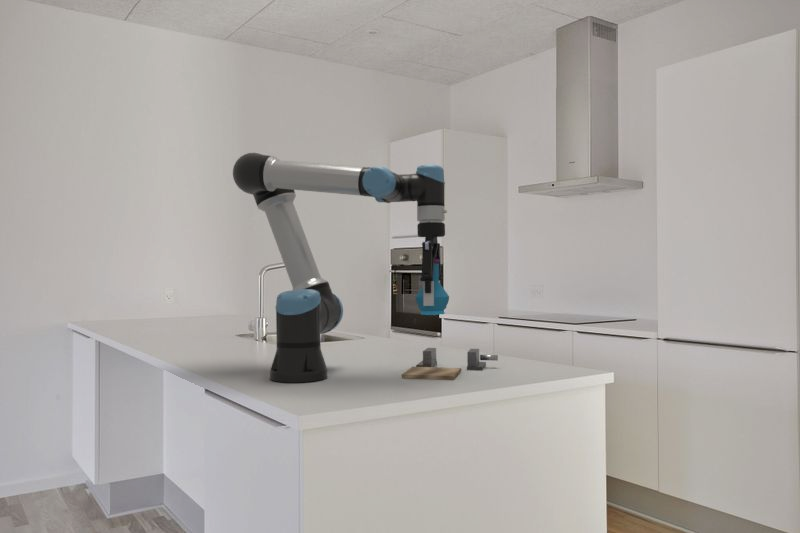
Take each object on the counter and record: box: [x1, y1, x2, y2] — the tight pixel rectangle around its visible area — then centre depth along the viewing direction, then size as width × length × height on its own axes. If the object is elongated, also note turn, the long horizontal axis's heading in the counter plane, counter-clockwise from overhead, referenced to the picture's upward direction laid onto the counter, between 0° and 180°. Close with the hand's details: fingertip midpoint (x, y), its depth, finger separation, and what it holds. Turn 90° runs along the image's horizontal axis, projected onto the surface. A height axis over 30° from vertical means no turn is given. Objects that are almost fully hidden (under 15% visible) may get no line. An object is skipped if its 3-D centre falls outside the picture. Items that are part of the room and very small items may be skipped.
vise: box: [415, 347, 499, 371], centre depth 196 cm, size 23×10×5 cm, turn 77°
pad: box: [401, 366, 462, 381], centre depth 183 cm, size 14×14×1 cm
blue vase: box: [415, 259, 450, 316], centre depth 183 cm, size 9×9×15 cm
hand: (432, 304), depth 183 cm, fingers closed on blue vase, 9 cm apart
